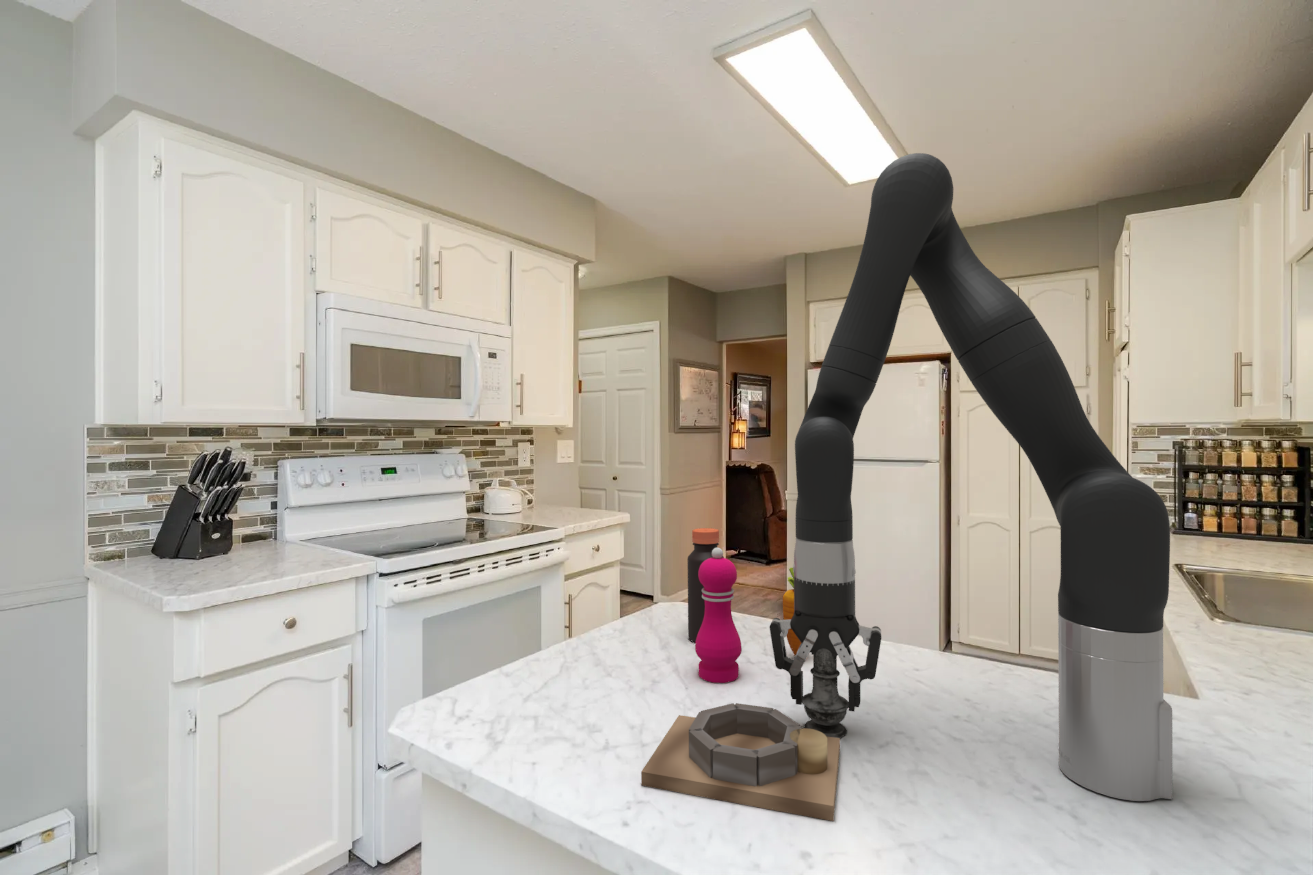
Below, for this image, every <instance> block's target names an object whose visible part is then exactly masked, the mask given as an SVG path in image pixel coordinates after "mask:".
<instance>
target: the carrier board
mask: <svg viewBox="0 0 1313 875" xmlns="http://www.w3.org/2000/svg"><path fill="white" fill-rule="evenodd" d="M840 757H841V738H834V737H827V736H826V735H825V734H823V733H822V732H820V731H817V730H814V729H807V728H804V727H802V725H801V724H800V723H799V722H797V721H795V720H793V719H792V718H790V717H789V716H787V715H786V714H784V713H783V712H781V711H780V710H778V709H777V708H775V709H774V708H773V707H767V706H762V705H753V704H746V703H739V702H738V703H737V702H736V703H729V704H725V705H720V706H716V707H713V708H712V707H711V708H708V709H702V710H701V711H699V712H698V714H697V715H696V717H693V716H688V715H681V714H678V716H677V717H676V719H675V720H674V721H673V723H672V725H671V726H670V728H669V729H668V731H667V733H665V736H664V737H663V738H662V740H661V741H660V743H659V745H657V747H656V749H655V751H654V752H653V753H652V754H651V756H650V758H649V759H648V761H647V762H646V764H645V765H644V766H643V768H642V770H641V773H640V774H641V775H640V776H641V779H640V780H641V783H640V784H641V786H643V787H648V788H654V789H659V790H664V791H671V792H674V793H675V792H676V793H679V794H685V795H691V796H696V797H702V798H707V799H712V800H716V801H722V802H723V801H724V802H728V803H734V804H739V805H745V806H749V807H755V808H759V809H760V808H761V809H766V810H771V811H776V812H781V813H786V814H792V815H798V816H804V817H808V818H814V819H820V820H826V821H830V822H834V821H835V810H836V809H835V808H836V800H837V789H838V788H837V787H838V777H839V766H840Z"/></svg>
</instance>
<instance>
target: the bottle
mask: <svg viewBox="0 0 1313 875" xmlns="http://www.w3.org/2000/svg"><path fill="white" fill-rule="evenodd" d="M691 534H692V537H691V538H692V539H691V540H692V545H693V550H692V551H691V552H690V554H689V555H688V556H687V627H688V628H687V630H688V631H687V633H688V634H687V637H688V639H689V641H691V642H693V643H696V638H697V634H698V632H699V630H700V627H701V625H702V622H703V619H704V614H705V600H704V599H703V598H702V593H703V592H702V589H703V588H704V586H703V585H702V584H701V582H700V581H699V577H698V572H699V568H700V565H701V564H702V563H703V562H704V561H705V560H707V559H709V558H712V557H713V556H712V550H713V549H714V548H718V546H719V545H720V544H719V542H720V530H719V529H718V528H717V529H716V528H712V527H711V528H710V527H709V528H708V527H704V528H703V527H702V528H700V527H699V528H694V529H692V533H691ZM722 558H725V557H724V555H723V556H722Z"/></svg>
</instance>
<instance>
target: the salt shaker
mask: <svg viewBox="0 0 1313 875" xmlns="http://www.w3.org/2000/svg"><path fill="white" fill-rule="evenodd" d="M812 657H813V662H812V664H813V666H812V668H810V674H811V675H812V690H811V692H808V693H806V694H803V697H802V705H803V708H804V711H805V714H806V716H807V717H808V718H809V720H808V721H806V722H805V723H804V725H803V728H807V729H814V730H817V731H820V732H822V733H823V734H825V735H826V736H827V737H834V738H840V739H843V738H844V737H846V736H847V733H848V729H847V727H846V726H845V725H844V724H842V723H841V722H843V721H844V720H845V718H846V716H847V711H848V710H849V700H847V699H846V698H845V697H843V695H840V694H839V690H838V677H839V676H840V675H841V671H840V670H838V669H837V667H838V666H837V665H838V664H837V662H838V660H837V659H838V656H837V657H832V653H831V652H830V651H829V650H827V649H820V650H818V651H817V652H816V655H813V654H812Z"/></svg>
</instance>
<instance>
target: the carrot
mask: <svg viewBox="0 0 1313 875" xmlns="http://www.w3.org/2000/svg"><path fill="white" fill-rule="evenodd" d="M788 571H789V573H790V575H791V576H788V577H787V582H788V583H789V584H790V586H791V587H792V588H793V589H787V590H786V591H785V593H784V594H783V596H782V615H783V616H782V618H783V620H789V619H792V617H793V615H794V572H793V567H789V568H788ZM786 639H787V643H788V645H789V648H790V650H791V652H792V654H793V656H794V657H795V655H796V653H797V651H798V649H799V647H800V645H801V642H800V640H799V639H798V637H797V636H796V635H795V633H794V632H793V630H792V629H791V628H790V629H788V633H787V636H786Z"/></svg>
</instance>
